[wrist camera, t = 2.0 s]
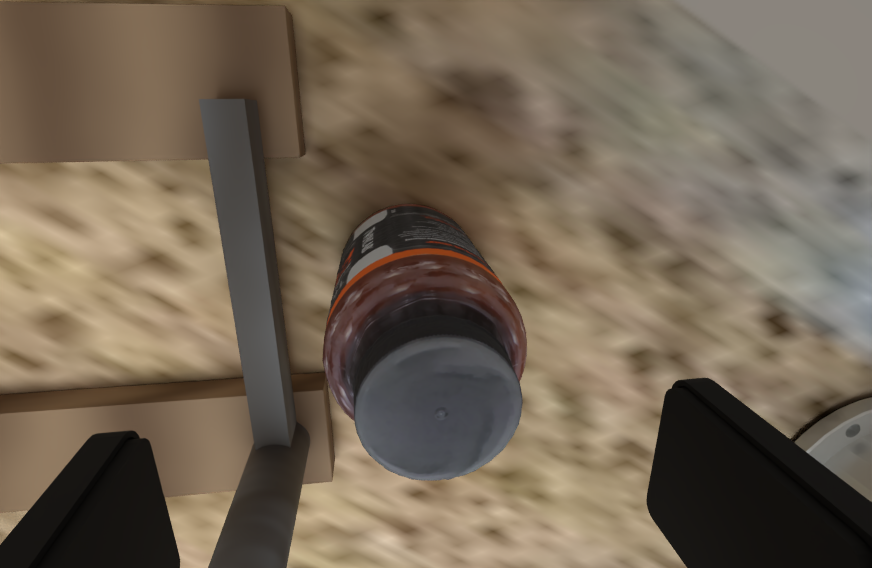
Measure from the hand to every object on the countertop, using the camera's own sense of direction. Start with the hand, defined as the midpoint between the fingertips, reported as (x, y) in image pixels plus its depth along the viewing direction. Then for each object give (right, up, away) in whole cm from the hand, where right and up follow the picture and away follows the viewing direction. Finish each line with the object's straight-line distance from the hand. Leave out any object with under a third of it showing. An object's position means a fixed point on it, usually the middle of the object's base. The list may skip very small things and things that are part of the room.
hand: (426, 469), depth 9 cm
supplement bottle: (-1, +4, +13) cm, 14 cm away
